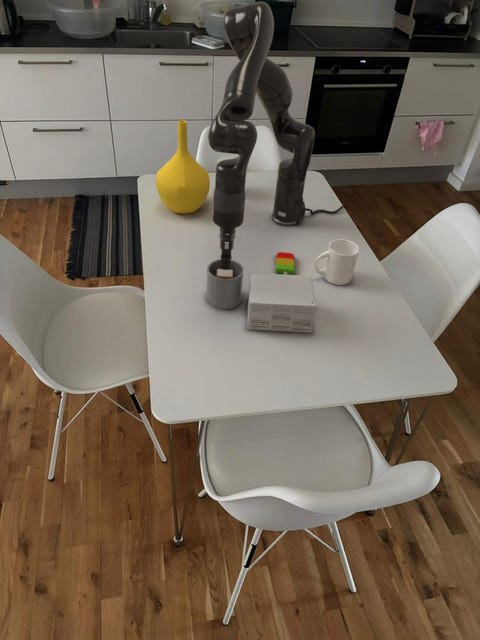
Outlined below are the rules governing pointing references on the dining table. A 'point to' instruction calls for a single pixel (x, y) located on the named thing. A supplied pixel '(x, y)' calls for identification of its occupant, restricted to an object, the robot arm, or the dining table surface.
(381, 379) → the dining table surface
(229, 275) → the juice carton
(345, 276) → the mug
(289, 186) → the robot arm
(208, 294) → the steel cup
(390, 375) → the dining table surface
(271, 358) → the dining table surface
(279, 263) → the popsicle
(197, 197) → the vase
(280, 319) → the supplement box
